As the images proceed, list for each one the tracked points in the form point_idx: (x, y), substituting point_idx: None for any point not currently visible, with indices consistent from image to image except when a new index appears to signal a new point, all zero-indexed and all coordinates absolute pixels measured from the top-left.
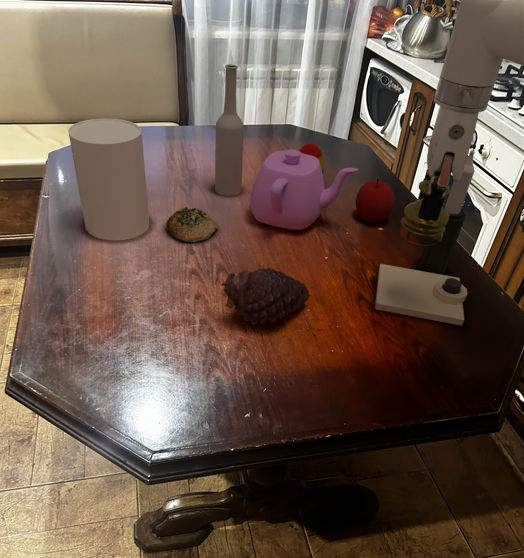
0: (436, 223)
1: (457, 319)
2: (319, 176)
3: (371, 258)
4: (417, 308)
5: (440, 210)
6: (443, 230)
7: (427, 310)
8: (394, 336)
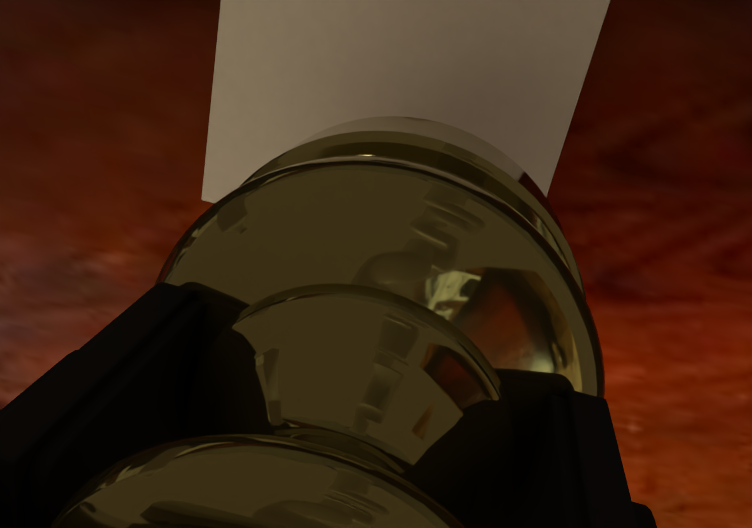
0: (599, 370)
1: None
2: None
3: (133, 206)
4: (556, 97)
5: (622, 478)
6: (492, 178)
7: (572, 46)
8: (713, 225)
